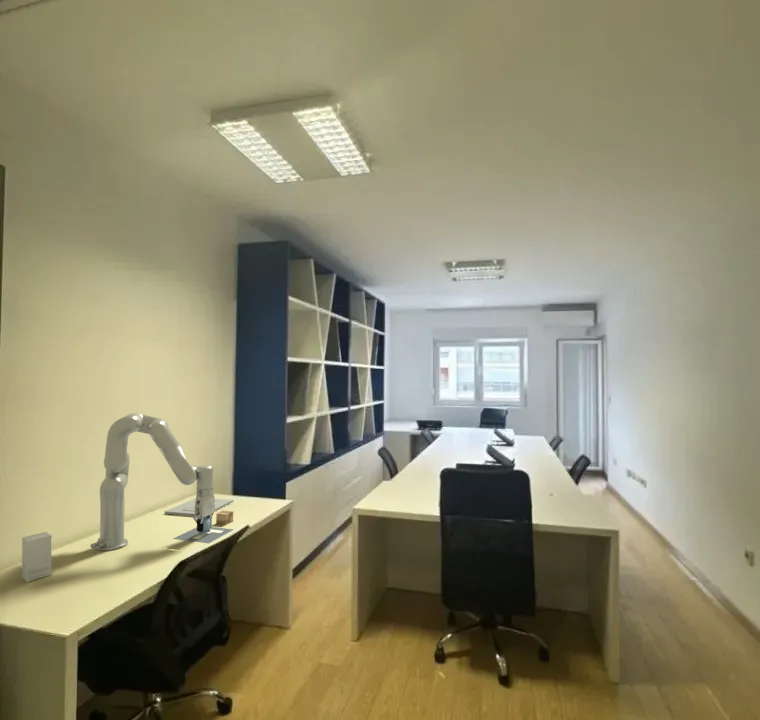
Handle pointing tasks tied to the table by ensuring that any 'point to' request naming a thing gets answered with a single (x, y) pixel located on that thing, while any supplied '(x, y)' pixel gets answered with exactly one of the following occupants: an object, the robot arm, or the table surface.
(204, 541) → the letter mat
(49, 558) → the skincare box
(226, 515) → the oak block
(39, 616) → the table surface
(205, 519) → the blue canister
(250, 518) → the table surface
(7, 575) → the table surface
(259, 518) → the table surface
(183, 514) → the award plaque
